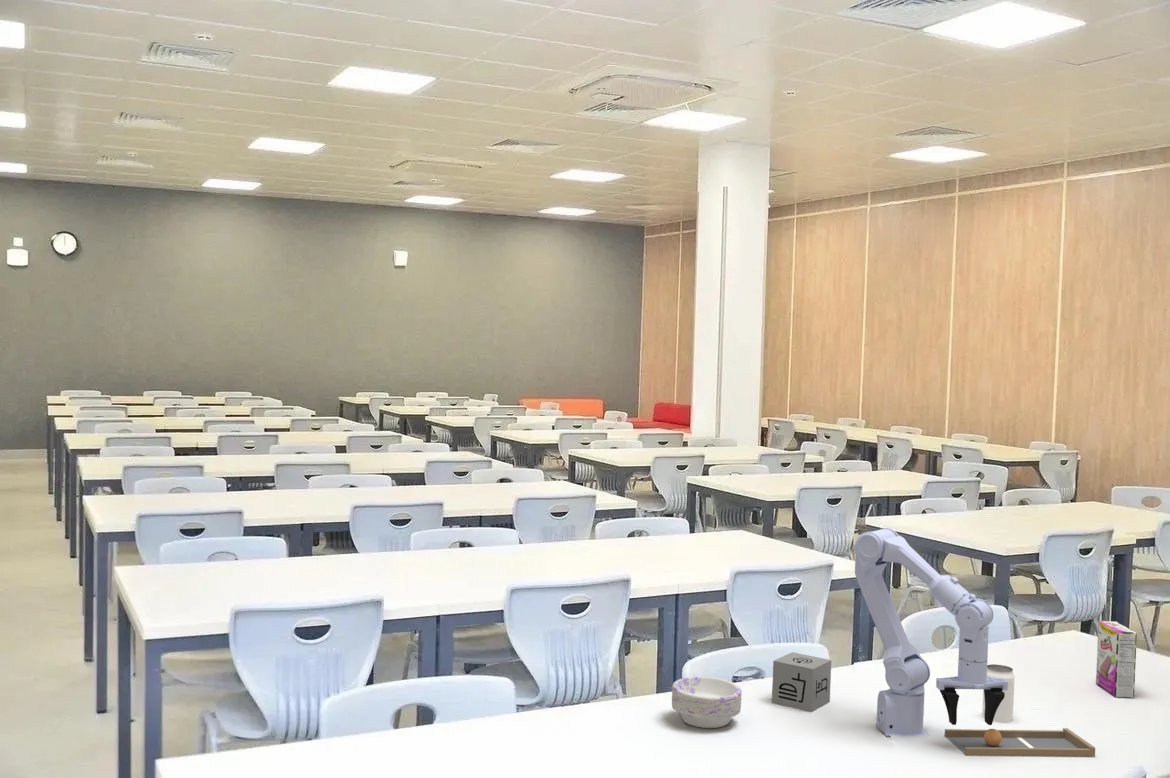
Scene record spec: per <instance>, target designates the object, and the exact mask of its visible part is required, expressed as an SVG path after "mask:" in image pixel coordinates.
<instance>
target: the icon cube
mask: <svg viewBox="0 0 1170 778" xmlns="http://www.w3.org/2000/svg"><path fill="white" fill-rule="evenodd" d="M772 662H773V664H772V686H771V688H772V689H771V703H772V704H774V705H778V706H782V707H787V708H791V709H795V710H799V711H803V712H808V713H813V712H815V711H817V710H818V709H821V708H822V707H824V706H825V705H827V704H829V703H830V702H831V679H832V660H831V659H828V658H822V657H818V656H812V655H809V654H802V653H798V652H793V651H792V652H790V653H787V654H786V655H783V656H781V657H778V658H776V659H774V660H773V661H772Z"/></svg>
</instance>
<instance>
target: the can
mask: <svg viewBox="0 0 1170 778" xmlns="http://www.w3.org/2000/svg"><path fill="white" fill-rule="evenodd" d="M1013 671H1014V668H1012V667H1010V666H1007V665H1003V664H998V663H997V664H987V678H997V679H1005V680H1006V681H1008V690H1007V691H1004V690H1002V692H1004V693H1005V696H1004V699H1003V700H1002V702H1001V703H1000V705H999V707H998V709H997V711H996V713H995V716H994V719H993V723H994V722H995V723H1001V724H1002V723H1003V724H1004V723H1006V724H1007V723H1011V722H1013V720H1014V697H1015V674H1014V672H1013ZM982 690H983V692H982V693H983V694H982V709H981V710H982V718H984V719H985V696H984V689H982Z"/></svg>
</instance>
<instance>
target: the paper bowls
mask: <svg viewBox="0 0 1170 778" xmlns="http://www.w3.org/2000/svg"><path fill="white" fill-rule="evenodd" d="M742 693H743V690H742V688H741V687H740V686H739V685H738V684H736V683H734V682H732V681H729V680H726V679H723V678H718V677H711V676H689V677H688V676H687V677H683V678H679V679H677V680H676V681H674V682H673V684H672V687H671V708H672V709H673V711H675V712H677V713H679V715H680V717H681V719H682V720H683V721H684V722H685V723H686V724H687V725H689V726H692V727H696V728H700V727H701V729H718V728H721V727H725V726H727V725H728V724H729V723H730V721H731V720H732V718H733V717H736V716H737V715H739V714H740V712H741V709H742Z"/></svg>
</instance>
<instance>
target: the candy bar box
mask: <svg viewBox="0 0 1170 778" xmlns="http://www.w3.org/2000/svg"><path fill="white" fill-rule="evenodd" d="M1097 623H1098V626H1097V646H1096V648H1097V650H1096V651H1097V653H1096V673H1095V674H1096V677H1095V685H1097V686H1099V687H1100V688H1102V689H1103V690H1104V691H1106V692H1107V693H1109V694H1110V695H1111V696H1113V697H1114V698H1116V699H1117V698H1118V699H1134V698H1135V687H1136V685H1135V683H1136V682H1135V680H1136V660H1137V659H1136V658H1137V638H1138V637H1137V636H1138V633H1137V632H1136V631H1134V630H1132V629H1131V628H1128V627H1126V626H1125V625H1123V624H1122V623H1120V622H1118V621H1111V620H1110V621H1109V620H1099V621H1098V622H1097Z"/></svg>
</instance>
